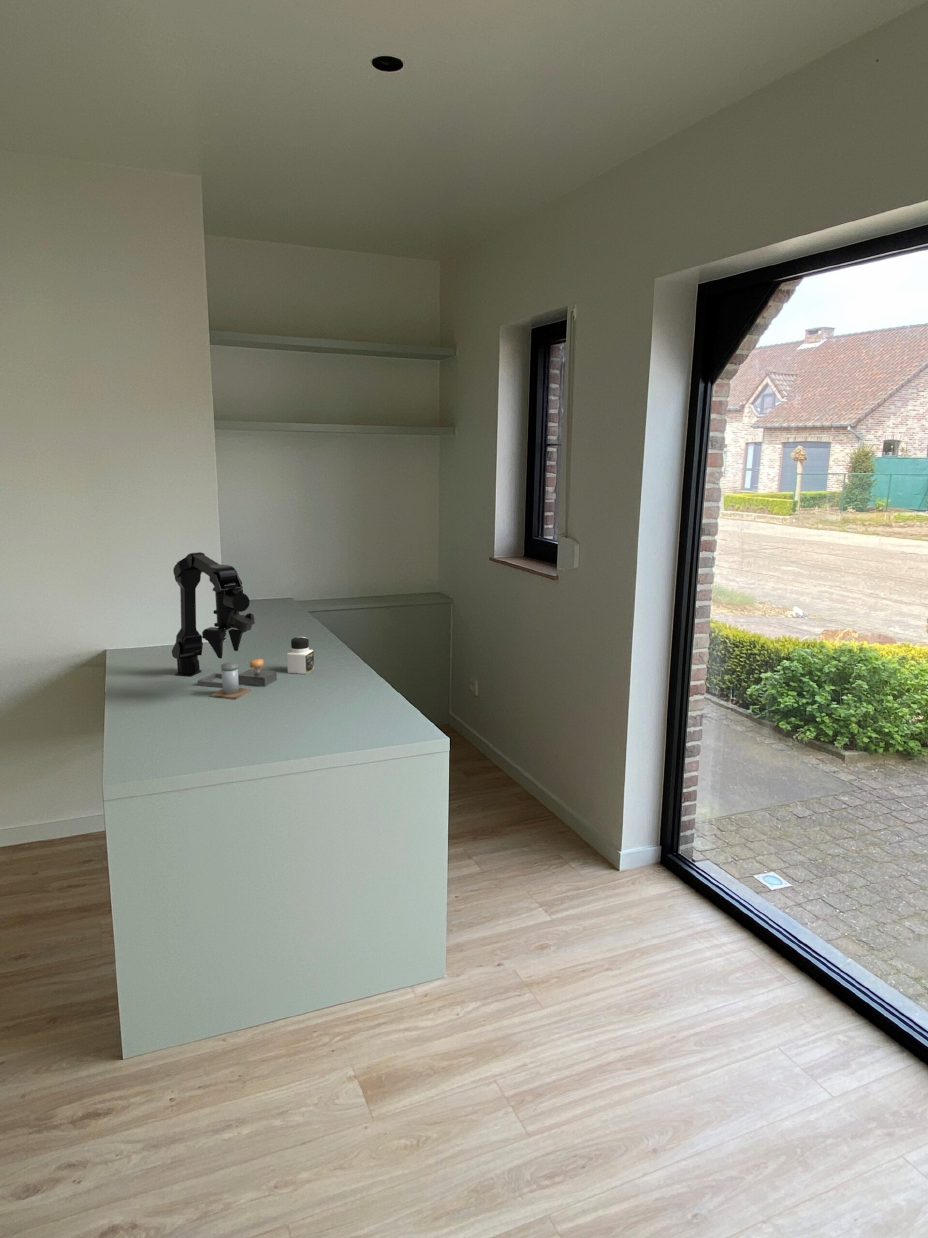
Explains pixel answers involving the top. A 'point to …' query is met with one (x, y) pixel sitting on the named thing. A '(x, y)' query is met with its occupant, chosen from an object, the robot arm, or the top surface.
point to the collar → (207, 682)
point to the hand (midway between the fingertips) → (228, 654)
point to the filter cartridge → (230, 678)
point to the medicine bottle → (300, 656)
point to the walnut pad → (231, 696)
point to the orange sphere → (256, 665)
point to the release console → (257, 677)
